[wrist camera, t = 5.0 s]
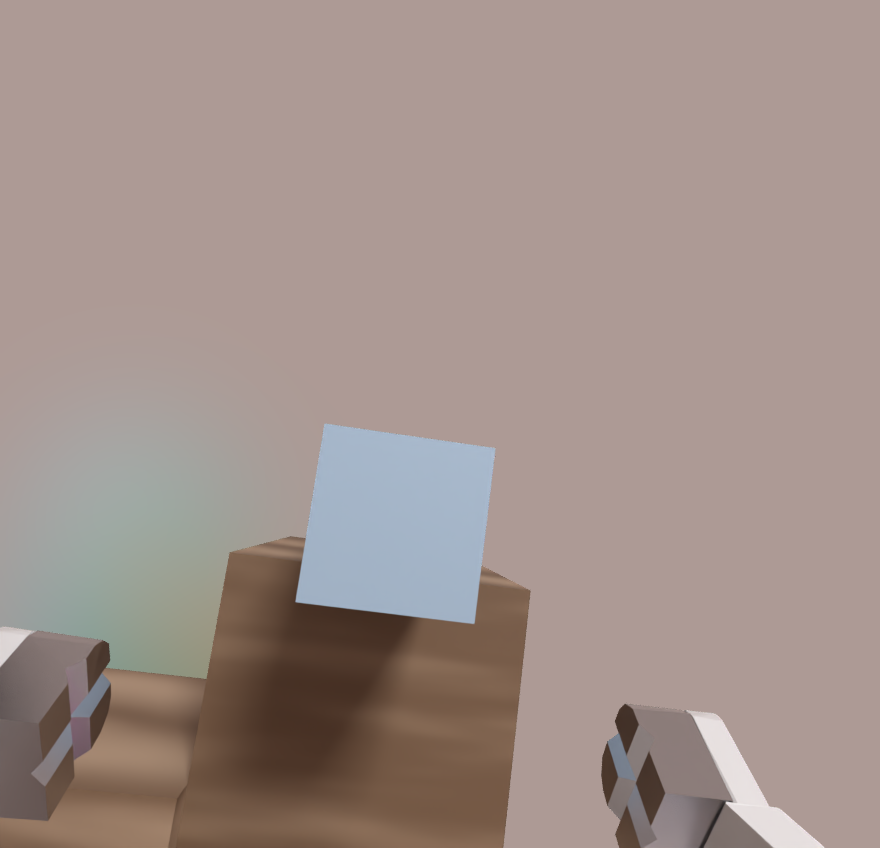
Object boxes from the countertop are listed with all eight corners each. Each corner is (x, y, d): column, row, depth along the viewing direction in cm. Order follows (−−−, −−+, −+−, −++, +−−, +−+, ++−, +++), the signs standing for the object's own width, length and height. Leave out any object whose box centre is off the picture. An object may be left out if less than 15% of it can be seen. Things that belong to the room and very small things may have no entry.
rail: (474, 624, 12) (495, 448, 13) (295, 602, 12) (324, 424, 12) (411, 550, 36) (419, 490, 36) (350, 542, 35) (360, 482, 36)
